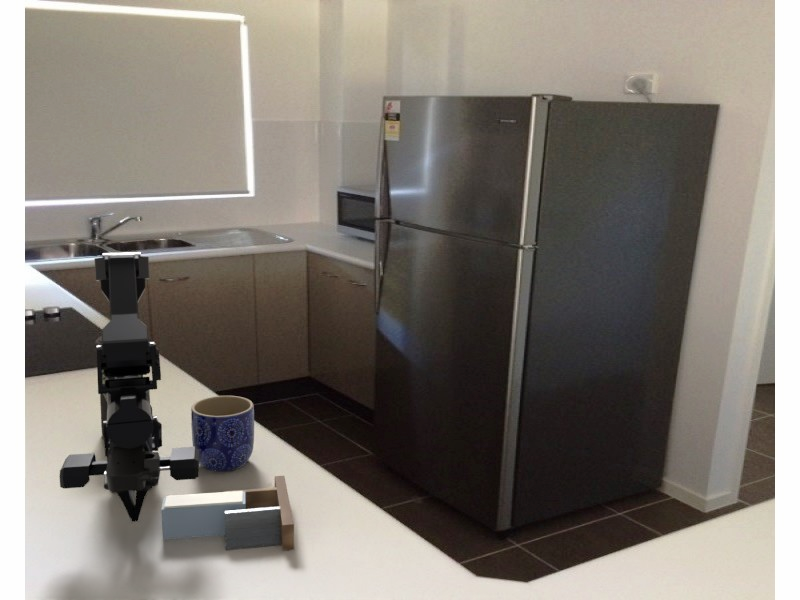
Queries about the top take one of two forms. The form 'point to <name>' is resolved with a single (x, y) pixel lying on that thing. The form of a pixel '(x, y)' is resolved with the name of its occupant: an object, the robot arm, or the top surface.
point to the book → (198, 513)
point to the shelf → (273, 499)
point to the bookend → (252, 528)
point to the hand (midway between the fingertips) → (135, 520)
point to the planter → (223, 432)
